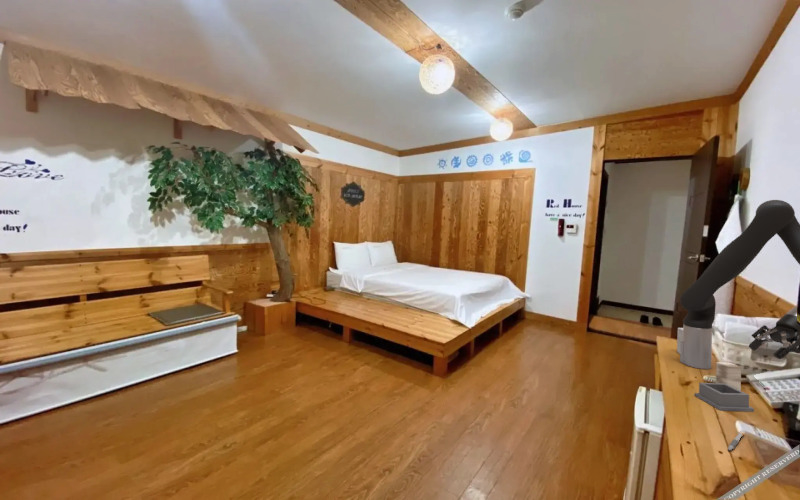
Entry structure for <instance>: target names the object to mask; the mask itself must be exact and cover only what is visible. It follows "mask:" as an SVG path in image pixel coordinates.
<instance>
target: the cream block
mask: <svg viewBox="0 0 800 500" xmlns="http://www.w3.org/2000/svg"><path fill="white" fill-rule="evenodd" d="M715 370H716V372H715V373H716V374H715V378H716V379H715V383H725V384H727V385H729V386H731V387H734V388H736V389H738V390H740V391H742V390H741V389H742V388H741V385H742V384H741V383H742V366H739V365H737V364H734V363H732V362H725V361H723V362H718V361H716V369H715Z"/></svg>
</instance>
